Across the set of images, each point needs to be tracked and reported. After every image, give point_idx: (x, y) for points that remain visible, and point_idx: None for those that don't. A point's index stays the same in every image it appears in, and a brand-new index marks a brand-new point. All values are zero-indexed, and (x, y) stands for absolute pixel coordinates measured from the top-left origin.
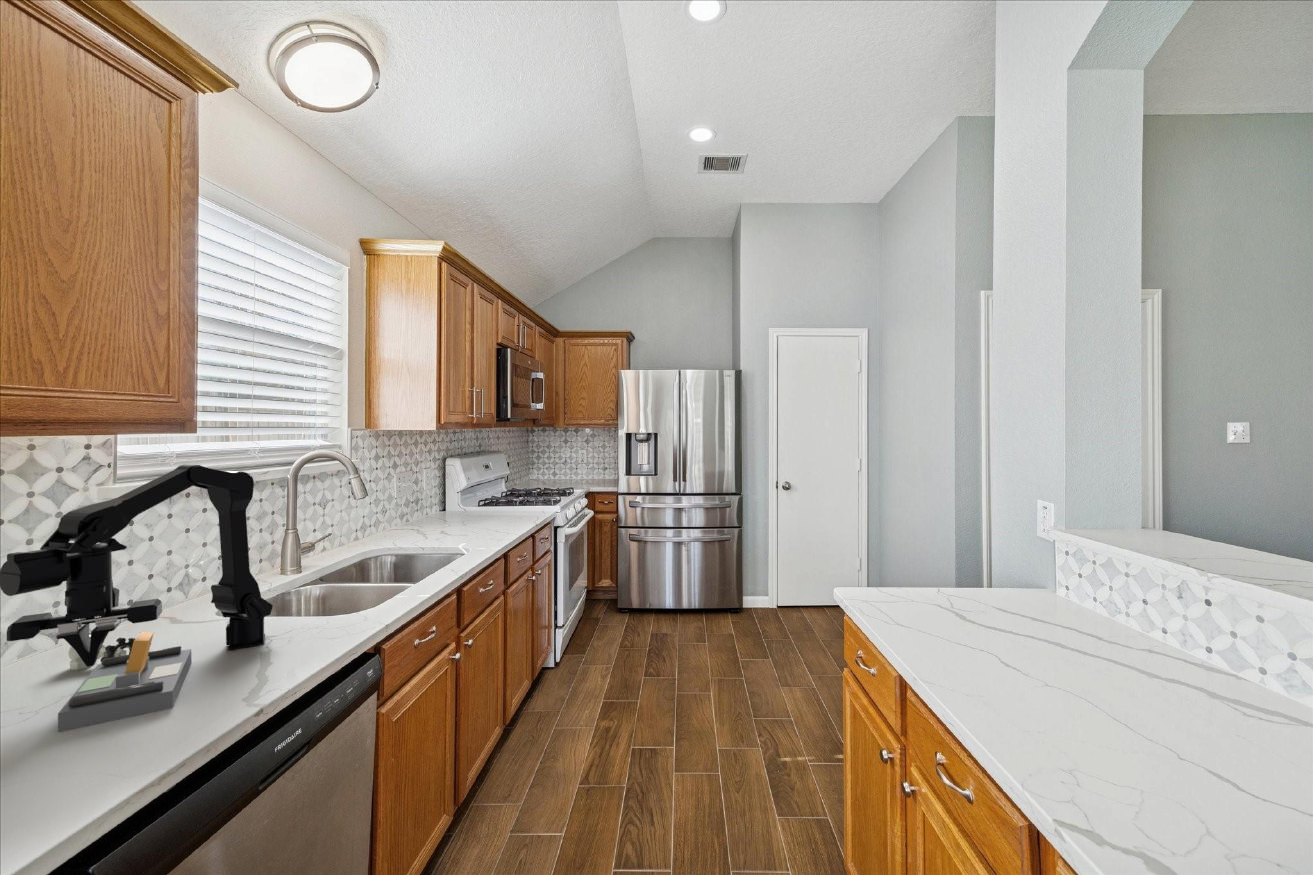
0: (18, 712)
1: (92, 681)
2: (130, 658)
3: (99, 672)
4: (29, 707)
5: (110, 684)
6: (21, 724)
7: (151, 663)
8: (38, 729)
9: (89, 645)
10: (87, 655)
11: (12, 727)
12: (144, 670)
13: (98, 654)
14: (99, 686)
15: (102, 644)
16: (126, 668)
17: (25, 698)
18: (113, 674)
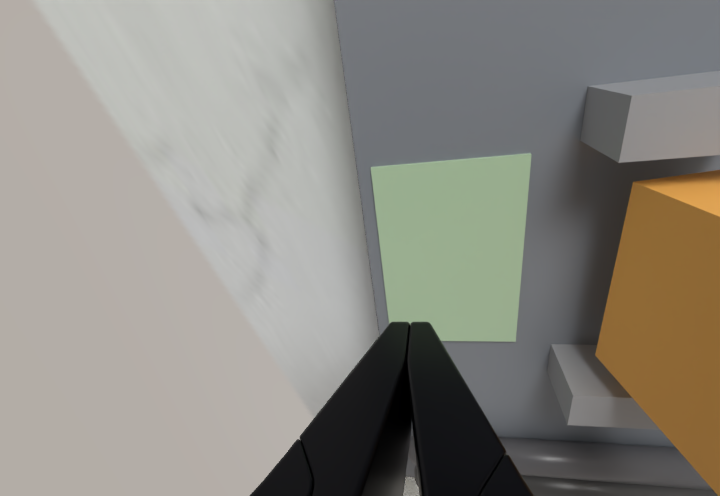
0: (185, 198)
1: (409, 222)
2: (706, 468)
3: (392, 30)
4: (192, 161)
5: (516, 320)
6: (266, 315)
7: None
8: (339, 375)
9: (376, 483)
10: (404, 479)
11: (253, 324)
12: (699, 157)
13: (456, 370)
14: (469, 321)
15: (505, 453)
16: (633, 398)
17: (89, 13)
18: (499, 135)
